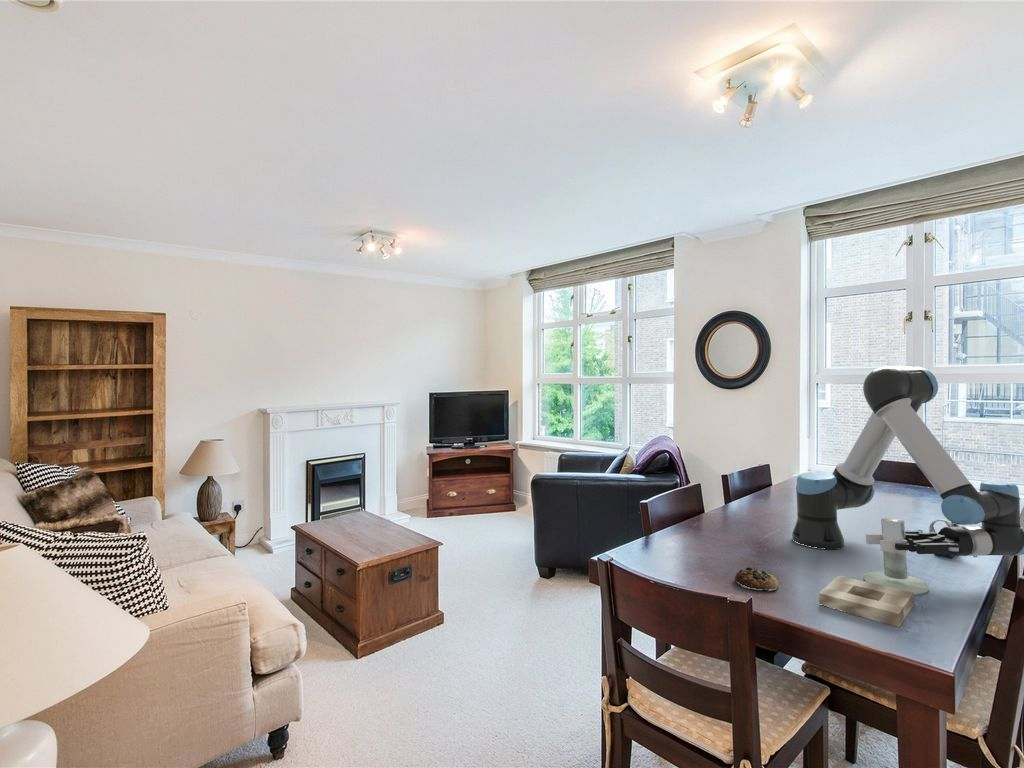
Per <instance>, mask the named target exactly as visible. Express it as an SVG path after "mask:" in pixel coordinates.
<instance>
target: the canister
mask: <svg viewBox="0 0 1024 768" xmlns="http://www.w3.org/2000/svg"><path fill="white" fill-rule="evenodd" d="M880 521H881V523H880V524H881V534H882V540H905V531H906V529H905V528H906V527H905V520H903V519H900V518H895V517H882V518H881V520H880ZM882 553H883V554H882V555H883V558H882V559H883V572H884V574H885V576H887V577H890V578H894V579H907V578H908V576H909V575H908V565H907V564H908V562H907V561H908V560H907V551H882Z"/></svg>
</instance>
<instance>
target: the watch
mask: <svg viewBox="0 0 1024 768" xmlns="http://www.w3.org/2000/svg"><path fill="white" fill-rule="evenodd" d="M937 522H944V523H945V525H946V527H961V525H959V524H955V523H953V522H951V521H949V520H948V519H947V518H940V519H936V520H934V521H932V522H931V523H930V524H929V526H928V527H929V529H928V531H929V532H935V533H937V531H936V529H935V527H934V525H935V523H937ZM933 555H934V556H938V557H940V558H941V557H942V558H947V559H951V560H952V559H954V558H956V557H957V556H951V555H949V554H933Z"/></svg>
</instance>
